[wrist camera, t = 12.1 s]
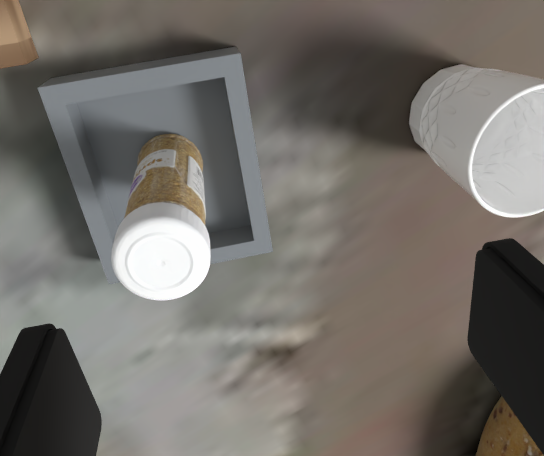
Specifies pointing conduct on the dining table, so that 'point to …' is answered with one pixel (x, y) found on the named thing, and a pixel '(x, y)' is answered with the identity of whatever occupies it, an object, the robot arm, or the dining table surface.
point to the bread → (505, 435)
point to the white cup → (485, 135)
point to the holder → (14, 36)
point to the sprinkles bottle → (164, 222)
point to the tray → (153, 122)
